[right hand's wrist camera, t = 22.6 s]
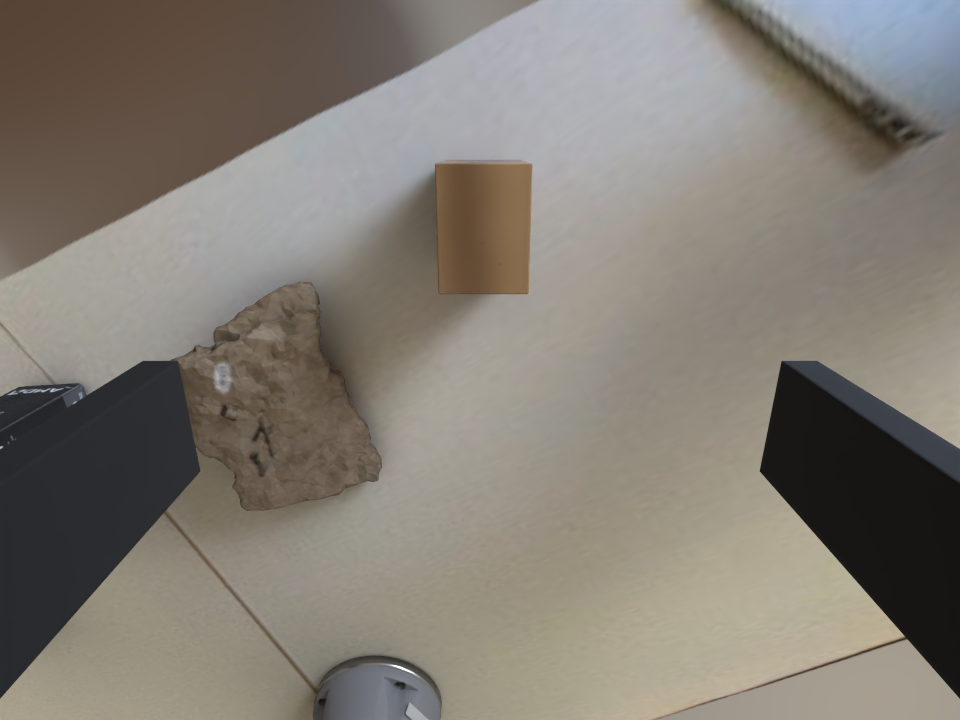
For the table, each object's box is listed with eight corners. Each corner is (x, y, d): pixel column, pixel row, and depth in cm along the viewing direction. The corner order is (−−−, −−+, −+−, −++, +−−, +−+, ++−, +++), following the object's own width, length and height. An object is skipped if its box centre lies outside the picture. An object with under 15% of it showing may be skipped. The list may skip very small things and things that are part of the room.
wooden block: (521, 160, 47) (532, 163, 36) (518, 263, 50) (528, 294, 39) (445, 160, 47) (434, 163, 36) (447, 263, 50) (438, 294, 39)
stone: (142, 321, 48) (122, 350, 43) (310, 268, 50) (310, 291, 45) (248, 497, 58) (242, 538, 53) (384, 448, 60) (391, 484, 55)
